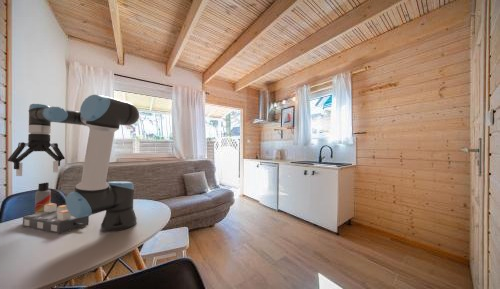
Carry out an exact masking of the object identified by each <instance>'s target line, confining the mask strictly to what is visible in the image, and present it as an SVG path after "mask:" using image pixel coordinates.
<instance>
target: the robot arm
mask: <svg viewBox="0 0 500 289" xmlns="http://www.w3.org/2000/svg"><path fill="white" fill-rule="evenodd" d="M139 118H140V112H139V110H138V108H137V107H136V106H135V105H134V104H133V103H131V102H129V101H124V100H122V99H121V100H120V99H117V98H113V97H109V96H106V95H102V94H101V95H100V94H90V95H88V96H87V97H86V98H85V99H84V100H83V102H82V103H81V106H80V110H79V111H78V110H71V109H66V108H63V107H61V106H50V105H46V104H41V103H31V104H30V105H29V108H28V135H27V136H28V139H27V141H28V142H23V141H22V142H18V144H17V147H16V149H15V150H14V151H13V153H12V154H11V155H10V156H9V157H8V159H7V162H10V163H13V170H16V172H15V173H16V174H15V176H16V177H22V176H23V162H22V160H23V161H24V159H25V158H27V157H28V156H29V155H30V154H32V153H34V152H45V153H47V154H48V155H49V156H50V157H51V158H52V159H54V160H53V161H52V164H53V165H52V172H53V173H59V167H60V166H61V161H62V160H65V156H64V154H63V153H62V151H61V150H60V148H59V144H58V143H57V142H53V143H51V135H50V134H51V130H52V129H51V128H52V127H51V123H58V124H59V123H60V124H69V125H79V126H85V127H88V128H89V133H88V136H87V137H88V138H87V143H86V150H85V156H84V163H83V169H82V175H81V181H79V183H77V184H75V187H74V188H75V189H74V191H71V192H69V193H68V194H67V195H66V197H65V205H66V207H67V209H68V211H69V213H70V214H71V215H72V216H74V217H76V218H82V217H85V216H89V217H90V216H92V215H96V214H98V213H102V212H104V211H105V214H104V216H103V219H102V222H101V224H100V230H101V232H108V233H112V232H118V231H123V230H127V229H130V228H131V227H133V226H134V225H136V224H137V215H136V213H135V210H134V197H135V196H134V195H135V194H134V193H135V188H134V187H135V186H134V185H135V184H134V183H133V182H132V181H123V180H121V181H120V180H118V181H117V180H116V181H108V182H107V177H108V172H109V166H110V159H111V154H112V148H113V144H114V143H113V142H114V136H115V132H117V131H119V130H120V126H132V125H134V124H135V123H137V122H138V120H139ZM26 147H28V148H27V149H26V150H25V151H24V152H23V153H22V151H23V150H24V149H25V148H26ZM50 147H51V148H52V149H53V151H52V149H51V148H50Z"/></svg>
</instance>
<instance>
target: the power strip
mask: <svg viewBox="0 0 500 289" xmlns="http://www.w3.org/2000/svg"><path fill="white" fill-rule="evenodd" d="M57 216H58V214H57V208H56V211H53V212H41V213H37V214H35V213H33V214H29V215H25V216H23V217H22V228H26V229H31V230H37V231H41V232H46V233H51V234H56V235H61V234H62V235H63V234H65V233H67V232H70V231H73V230H75V229H78V228H81V227H82V228H83V227H85V226H87V225H89V220H90V219H89V218H90V216H85V217H82V218H76V217H74V216H72V215H71V219H67V220H64V221H61V220H57Z"/></svg>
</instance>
